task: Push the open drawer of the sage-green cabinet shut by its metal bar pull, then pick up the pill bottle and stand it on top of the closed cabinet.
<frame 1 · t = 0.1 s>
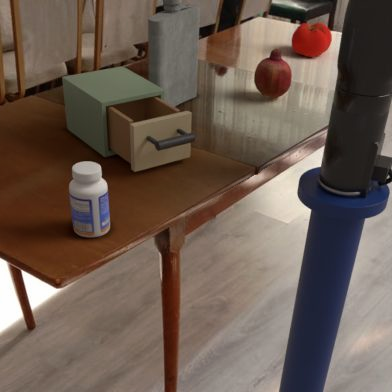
pill bottle: (91, 230, 92), on the table
hip flask: (171, 104, 131), on the table
cabinet: (115, 135, 118), on the table
fruit: (270, 99, 136), on the table
drawer: (148, 132, 107), point 5 cm above the table, slide at 8.0 cm
tomato: (309, 54, 161), on the table
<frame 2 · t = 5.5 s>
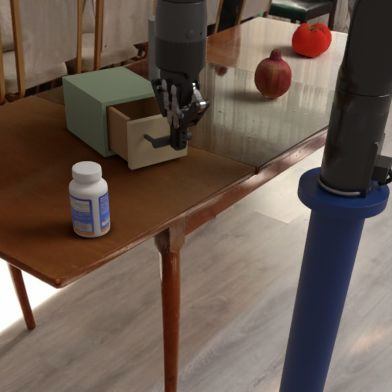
hand: (178, 148, 101), 6 cm above the table, tool pointing down, fingers closed
drawer: (145, 130, 108), point 5 cm above the table, slide at 7.0 cm, touching gripper
everything else where it was.
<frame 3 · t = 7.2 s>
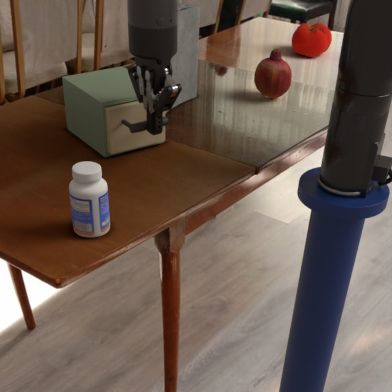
hand: (154, 132, 106), 6 cm above the table, tool pointing down, fingers closed
drawer: (124, 117, 112), point 5 cm above the table, slide at 0.0 cm, touching cabinet, gripper
everything else where it was.
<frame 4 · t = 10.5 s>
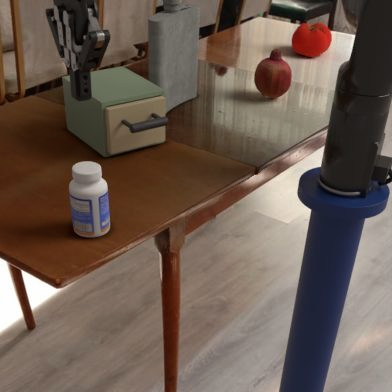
hand: (81, 98, 81), 19 cm above the table, tool pointing down, fingers closed
drawer: (124, 117, 112), point 5 cm above the table, slide at 0.0 cm
everything else where it was.
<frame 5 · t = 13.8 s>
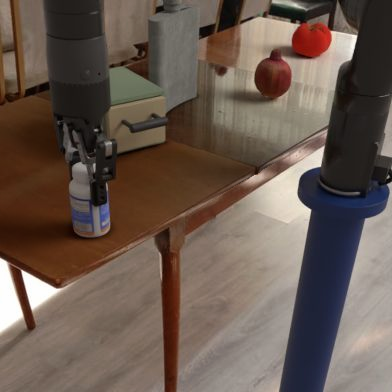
hand: (88, 195, 89), 5 cm above the table, tool pointing down, fingers closed on pill bottle, 5 cm apart
pill bottle: (91, 230, 92), on the table, touching gripper
everything else where it was.
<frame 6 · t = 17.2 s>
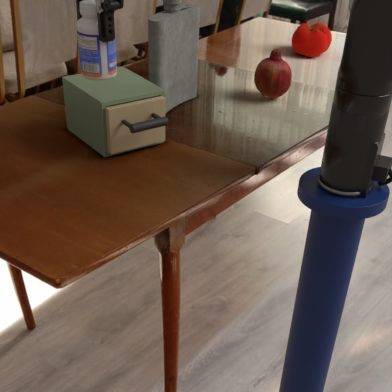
hand: (96, 35, 90), 22 cm above the table, tool pointing down, fingers closed on pill bottle, 5 cm apart
pill bottle: (99, 76, 93), point 17 cm above the table, touching gripper
everything else where it was.
when the fingers open (15 cm above the table, at t = 21.0 s): pill bottle stays where it is, resting on cabinet.
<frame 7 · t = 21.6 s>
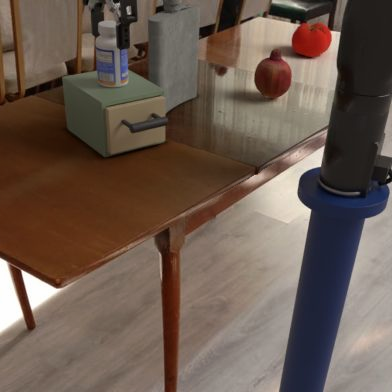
hand: (110, 42, 107), 16 cm above the table, tool pointing down, fingers open, 8 cm apart
pill bottle: (113, 84, 111), point 9 cm above the table, touching cabinet
everything else where it was.
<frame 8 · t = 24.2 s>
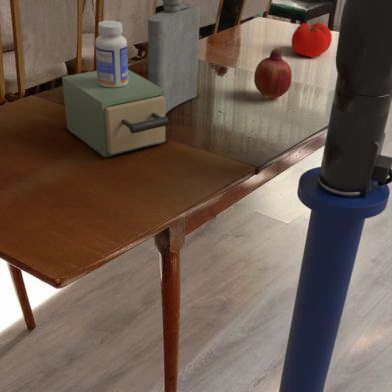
nothing on the table moved.
at the end: drawer slide at 0.0 cm; pill bottle inside the target area on the cabinet (0.1 cm from its centre), point 9.4 cm above the cabinet's base; pill bottle tilted 0° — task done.
